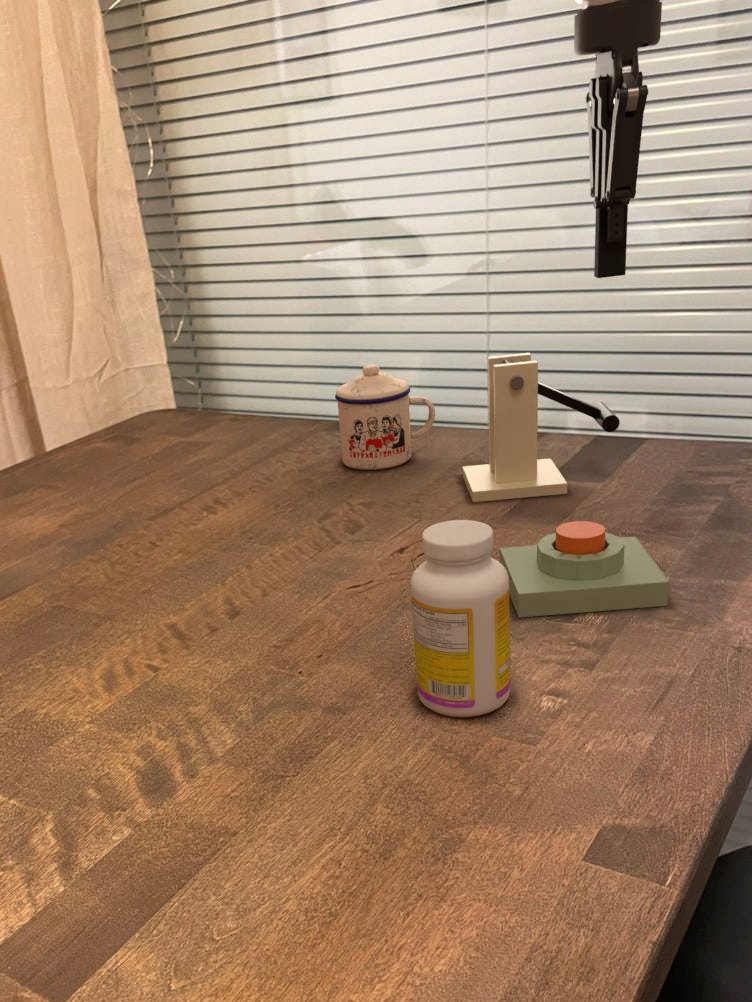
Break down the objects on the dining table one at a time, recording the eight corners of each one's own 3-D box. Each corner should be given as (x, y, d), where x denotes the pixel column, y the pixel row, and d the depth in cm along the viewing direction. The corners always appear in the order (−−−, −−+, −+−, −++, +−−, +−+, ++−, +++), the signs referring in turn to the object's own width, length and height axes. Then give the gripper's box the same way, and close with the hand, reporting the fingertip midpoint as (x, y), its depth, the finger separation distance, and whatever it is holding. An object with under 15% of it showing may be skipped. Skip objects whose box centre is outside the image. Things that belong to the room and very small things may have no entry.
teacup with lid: (343, 475, 121) (335, 378, 116) (337, 453, 130) (330, 362, 124) (442, 463, 121) (439, 366, 116) (430, 443, 129) (426, 351, 124)
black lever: (598, 422, 111) (610, 402, 110) (612, 437, 106) (624, 416, 105) (491, 375, 109) (501, 355, 108) (499, 388, 104) (510, 367, 103)
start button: (598, 538, 87) (599, 519, 86) (610, 555, 83) (611, 536, 82) (551, 542, 87) (551, 523, 86) (560, 559, 84) (561, 540, 83)
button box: (634, 558, 91) (636, 517, 89) (667, 606, 82) (671, 560, 80) (499, 570, 92) (499, 529, 90) (518, 618, 83) (518, 573, 81)
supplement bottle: (485, 667, 76) (482, 507, 70) (527, 708, 70) (527, 537, 65) (403, 686, 75) (393, 525, 69) (438, 730, 69) (431, 558, 63)
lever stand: (550, 468, 115) (552, 346, 109) (567, 493, 107) (570, 363, 101) (462, 476, 116) (459, 355, 110) (472, 502, 108) (469, 373, 102)
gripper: (560, 15, 97) (558, 271, 107) (592, -1, 85) (586, 289, 96) (640, 3, 96) (630, 263, 107) (683, -14, 84) (667, 280, 95)
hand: (609, 275), depth 101 cm, fingers closed
